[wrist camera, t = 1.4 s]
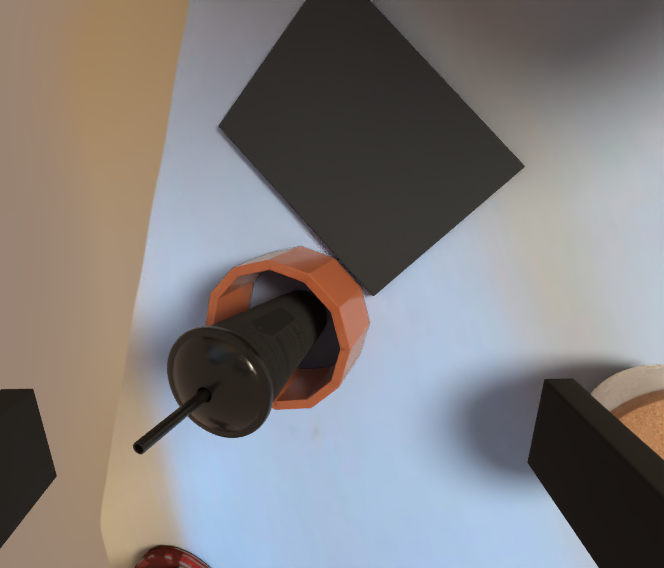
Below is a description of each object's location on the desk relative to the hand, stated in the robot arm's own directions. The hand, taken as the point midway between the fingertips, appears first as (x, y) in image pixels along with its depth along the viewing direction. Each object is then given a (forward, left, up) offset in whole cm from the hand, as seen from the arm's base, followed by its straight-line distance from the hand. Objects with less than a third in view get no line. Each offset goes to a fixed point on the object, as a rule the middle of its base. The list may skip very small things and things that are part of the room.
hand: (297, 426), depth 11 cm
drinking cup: (+12, -3, -24) cm, 27 cm away
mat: (-2, -10, -24) cm, 26 cm away
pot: (+12, -3, -24) cm, 27 cm away
